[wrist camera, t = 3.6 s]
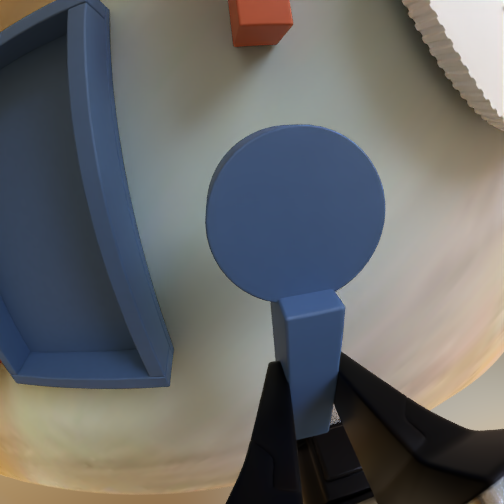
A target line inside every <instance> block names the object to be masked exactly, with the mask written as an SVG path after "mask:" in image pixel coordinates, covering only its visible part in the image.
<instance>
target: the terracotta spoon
mask: <svg viewBox="0 0 504 504" xmlns="http://www.w3.org/2000/svg"><path fill="white" fill-rule="evenodd" d="M228 5H229V13H230V22H231V30H232V38H233V45H234V47H241V46H257V45H276V44H278V42H279V41H280V40H281V39H282V37H283V36H284V35H285V34H286V33H287V31H288V30H289V29H290V28H291V27H292V25H293V19H292V13H291V7H290V1H289V0H228Z"/></svg>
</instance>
